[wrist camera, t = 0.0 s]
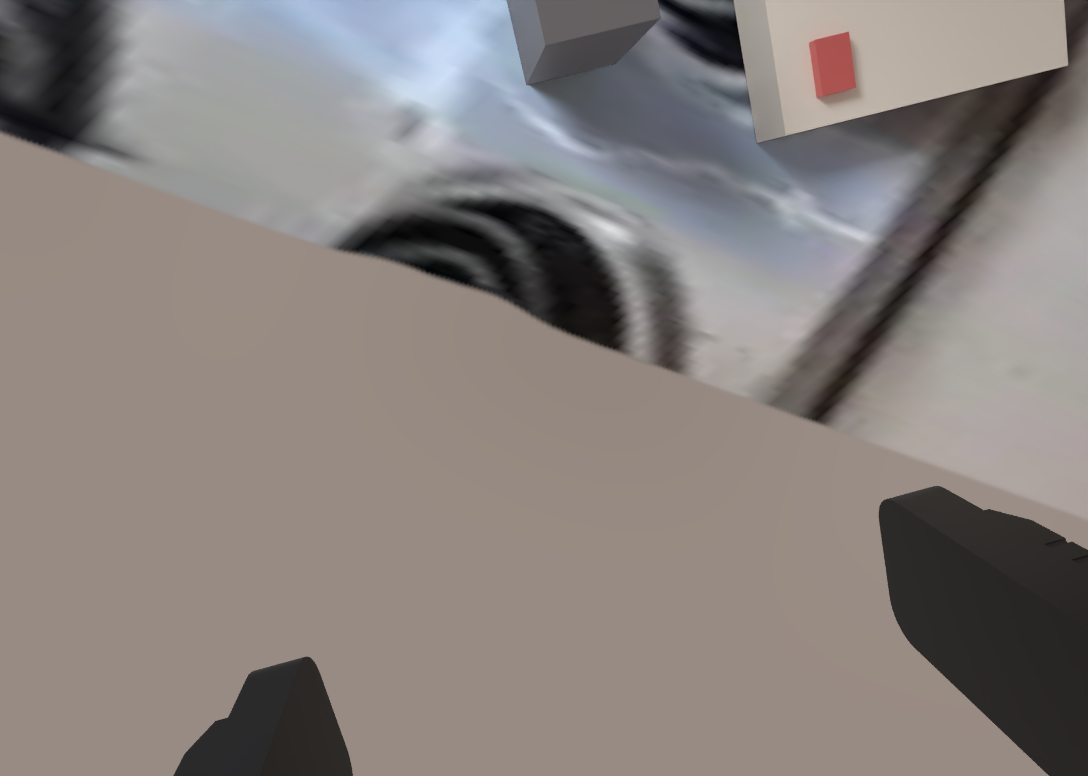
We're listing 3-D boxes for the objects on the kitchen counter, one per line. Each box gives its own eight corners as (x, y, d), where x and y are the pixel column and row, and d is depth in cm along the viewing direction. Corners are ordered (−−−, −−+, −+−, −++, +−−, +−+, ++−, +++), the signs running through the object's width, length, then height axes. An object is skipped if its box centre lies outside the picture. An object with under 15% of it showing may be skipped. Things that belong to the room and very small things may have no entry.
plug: (500, 2, 35) (515, -87, 25) (586, -18, 35) (636, -114, 25) (522, 94, 36) (545, 45, 26) (605, 74, 36) (660, 18, 26)
